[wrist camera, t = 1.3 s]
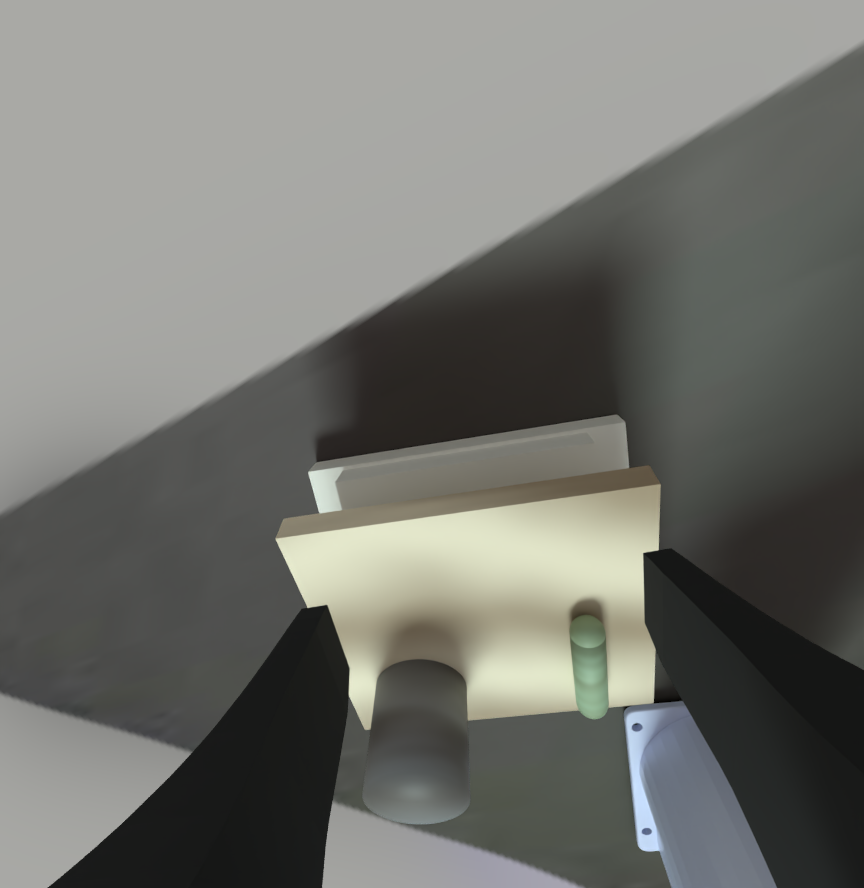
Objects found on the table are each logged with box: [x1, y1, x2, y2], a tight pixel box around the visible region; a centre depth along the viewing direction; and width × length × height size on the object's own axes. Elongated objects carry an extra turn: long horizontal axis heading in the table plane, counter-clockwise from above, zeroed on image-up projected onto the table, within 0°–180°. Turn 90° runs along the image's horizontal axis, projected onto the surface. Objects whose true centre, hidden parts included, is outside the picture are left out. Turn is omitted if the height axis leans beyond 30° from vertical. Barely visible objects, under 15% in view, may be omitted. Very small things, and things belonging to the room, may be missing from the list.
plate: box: [276, 465, 661, 824], centre depth 18 cm, size 11×12×5 cm
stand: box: [308, 415, 629, 513], centre depth 23 cm, size 12×13×3 cm
